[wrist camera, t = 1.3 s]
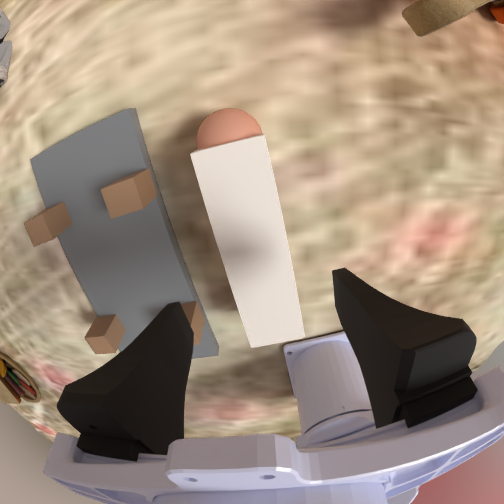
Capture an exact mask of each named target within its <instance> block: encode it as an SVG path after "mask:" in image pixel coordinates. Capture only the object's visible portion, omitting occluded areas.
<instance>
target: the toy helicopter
mask: <svg viewBox="0 0 504 504" xmlns="http://www.w3.org/2000/svg"><path fill="white" fill-rule="evenodd" d="M491 1H492V2H493V3H494V5H492V6H491V7H490V11H491V12H492V14H493V15H494V17H495V19H496V20H497V21H498V22H499V23H501V24H504V0H419V1H417V2H415V3H414V4H412V5H410V6H409V7H407V8H406V9H404V10H403V11H402V15H403V17H404V19H405V20H406V21H407V22H408V24H409V25H410V27H411V28H412V29H413V31H414V32H415V33H416V35H417V36H425V35H428V34H430V33H432V32H435V31H437V30H439V29H441V28H443V27H445V26H447V25H449V24H451V23H453V22H455V21H457V20H459V19H461V18H463V17H465V16H467V15H469V14H470V13H472V12H473V10H475V9H477V8H478V7H480V6H482V5H484V4H486V3H488V2H491Z"/></svg>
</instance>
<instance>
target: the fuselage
mask: <svg viewBox="0 0 504 504" xmlns="http://www.w3.org/2000/svg"><path fill="white" fill-rule="evenodd" d="M196 144H197V150H195V151H194V152H192V153H191V154H190V155H191V159H192V162H193V166H194V169H195V173H196V176H197V179H198V183H199V186H200V190H201V193H202V196H203V200H204V203H205V206H206V210H207V213H208V216H209V220H210V223H211V226H212V229H213V233H214V236H215V239H216V242H217V246H218V249H219V252H220V255H221V258H222V261H223V265H224V268H225V271H226V274H227V277H228V280H229V283H230V286H231V289H232V292H233V295H234V298H235V301H236V304H237V307H238V310H239V313H240V316H241V319H242V322H243V325H244V328H245V331H246V334H247V337H248V340H249V343H250V346H251V348H254V347H260V346H265V345H271V344H276V343H281V342H286V341H291V340H296V339H301V338H305V334H304V328H303V322H302V316H301V311H300V305H299V299H298V294H297V288H296V283H295V277H294V272H293V266H292V261H291V256H290V251H289V246H288V241H287V236H286V231H285V226H284V221H283V216H282V211H281V206H280V202H279V197H278V192H277V188H276V183H275V178H274V174H273V169H272V165H271V161H270V156H269V152H268V148H267V143H266V139H265V135H264V134H263V133H262V131H261V128H260V126H259V124H258V122H257V121H256V120H255V119H254V118H253V117H252V116H251V115H250V114H248V113H246V112H244V111H242V110H239V109H232V108H228V109H222V110H219V111H216V112H214V113H212V114H211V115H209V116H208V117H207V118H206V119H205V120H204V121H203V122H202V124H201V125H200V127H199V130H198V133H197V138H196Z"/></svg>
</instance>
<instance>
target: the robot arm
mask: <svg viewBox="0 0 504 504" xmlns="http://www.w3.org/2000/svg"><path fill="white" fill-rule="evenodd" d="M332 274H333V285H334V296H335V307H336V310H337V313H338V316H339V319H340V322H341V325H342V327H343V329H344V331H343V332H339V333H335V334H331V335H327V336H322V337H318V338H314V339H309V340H305V341H300V342H295V343H290V344H286V345H284V347H283V351H284V355H285V359H286V363H287V367H288V372H289V376H290V380H291V384H292V388H293V393H294V397H295V398H296V399H297V405H298V412H299V419H300V426H301V433H302V435H301V436H298V437H296V444H297V448H296V445H295V443H294V442H293V441H292V440H291V439H290V438H288V437H286V436H282V435H278V434H251V435H240V436H228V437H210V438H185V439H184V401H185V391H186V385H187V380H188V375H189V370H190V365H191V359H192V354H193V345H194V332H193V330H192V328H191V326H190V323H189V321H188V319H187V317H186V315H185V313H184V310H183V308H182V306H181V304H180V302H174V303H168V304H167V305H166V306H165V307H164V308H163V309H162V310H161V311H160V312H159V313H158V315H157V316H156V317H155V318H154V319H153V320H152V321H151V322H150V323H149V325H148V326H147V327H146V328H145V329H144V330H143V331H142V332H141V333H140V334H139V335H138V336H137V337H136V338H135V339H134V340H133V341H132V342H131V343H130V344H129V345H128V346H127V347H126V348H125V349H124V350H123V351H121V352H120V353H119V354H118V355H117V356H115V357H114V358H113V359H111V360H110V361H109V362H107V363H106V364H104V365H103V366H102V367H100V368H98V369H97V370H95V371H94V372H92V373H90V374H88V375H87V376H85V377H83V378H81V379H79V380H77V381H74V382H72V383H70V384H68V385H66V386H65V388H64V390H63V392H62V394H61V397H60V399H59V401H58V403H57V409H58V411H59V412H60V414H61V415H62V416H63V417H64V418H65V419H66V420H67V421H68V422H69V423H70V424H71V425H72V426H73V427H74V428H75V429H77V430H78V431H79V432H80V433H81V434H80V437H79V438H77V437H75V436H73V435H69V434H64V433H60V432H58V433H57V434H56V437H55V439H54V442H53V445H52V447H51V450H50V453H49V456H48V458H47V461H46V464H45V467H44V470H43V472H44V474H46V475H47V476H49V477H50V478H52V479H53V480H55V481H57V482H58V483H60V484H61V485H63V486H65V487H66V488H68V489H70V490H72V491H73V492H75V493H77V494H79V495H82V496H85V497H88V498H91V499H94V500H97V501H100V502H103V503H107V504H410V503H411V502H412V501H413V500H414V498H415V497H416V496H417V494H418V488H419V486H420V485H421V484H423V483H425V482H427V481H430V480H432V479H434V478H436V477H438V476H440V475H441V474H443V473H445V472H447V471H449V470H451V469H452V468H454V467H456V466H458V465H459V464H461V463H463V462H464V461H466V460H468V459H470V458H471V457H473V456H475V455H476V454H478V453H479V452H481V451H482V450H484V449H485V448H487V447H488V446H490V445H492V444H493V443H495V442H496V441H498V440H499V439H500V438H501V437H502V436H503V435H504V372H503V371H502V369H501V368H500V366H496V367H494V368H493V369H491V370H489V371H487V372H486V373H484V374H482V375H480V376H479V377H477V378H476V379H475V380H474V382H473V381H472V379H471V377H470V375H471V374H472V371H471V369H470V368H469V366H468V364H469V362H470V359H471V357H472V355H473V352H474V350H475V346H476V336H475V334H474V333H473V331H472V330H471V329H470V327H469V326H468V325H467V324H466V323H465V321H464V320H463V319H459V318H452V317H445V316H440V315H436V314H432V313H428V312H424V311H421V310H418V309H415V308H413V307H410V306H407V305H405V304H403V303H400V302H398V301H396V300H394V299H392V298H390V297H388V296H386V295H385V294H383V293H381V292H379V291H378V290H376V289H374V288H373V287H371V286H370V285H368V284H367V283H365V282H364V281H363V280H361V279H360V278H358V277H357V276H356V275H354V274H353V273H352V272H350V271H349V270H347V269H346V268H341V269H337V270H333V271H332Z"/></svg>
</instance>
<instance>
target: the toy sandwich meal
mask: <svg viewBox="0 0 504 504" xmlns="http://www.w3.org/2000/svg"><path fill="white" fill-rule="evenodd" d="M20 397H21V398H23V399H25V400H27V401H30V402H39V401H40V399H41V397H40V393H39V390H38V388H37V386H36V384H35V382H34V381H33V380H32V378H31V377H30V376H29V375H28V374H27V373H26V372H25V371H24V370H23V369H22V368H21V367H20V366H19V365H18V364H17V363H16V362H14V361H13V360H12V359H10V358H9V357H8V356H6V355H4V354H3V353H0V401H1V402H2V403H4V404H5V403H15V404H20V402H21V399H20Z"/></svg>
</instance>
